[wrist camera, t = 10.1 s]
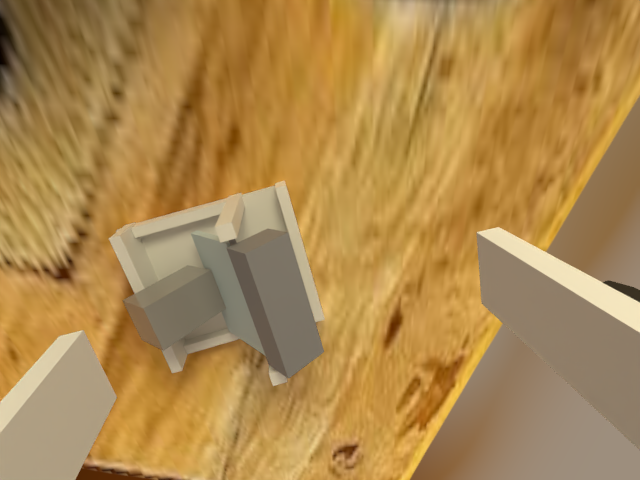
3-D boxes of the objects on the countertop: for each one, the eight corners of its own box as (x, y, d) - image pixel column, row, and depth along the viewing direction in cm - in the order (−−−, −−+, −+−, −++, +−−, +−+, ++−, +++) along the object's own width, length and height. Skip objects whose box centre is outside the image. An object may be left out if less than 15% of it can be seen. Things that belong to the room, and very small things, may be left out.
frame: (116, 227, 45) (63, 269, 33) (284, 180, 46) (290, 205, 34) (173, 351, 51) (145, 424, 39) (321, 308, 51) (337, 367, 40)
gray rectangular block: (202, 301, 48) (141, 339, 42) (187, 265, 46) (122, 300, 41) (226, 308, 44) (163, 350, 39) (211, 269, 43) (143, 308, 37)
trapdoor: (221, 219, 45) (185, 235, 43) (288, 232, 34) (245, 253, 32) (255, 314, 49) (224, 333, 47) (324, 351, 39) (288, 378, 36)
